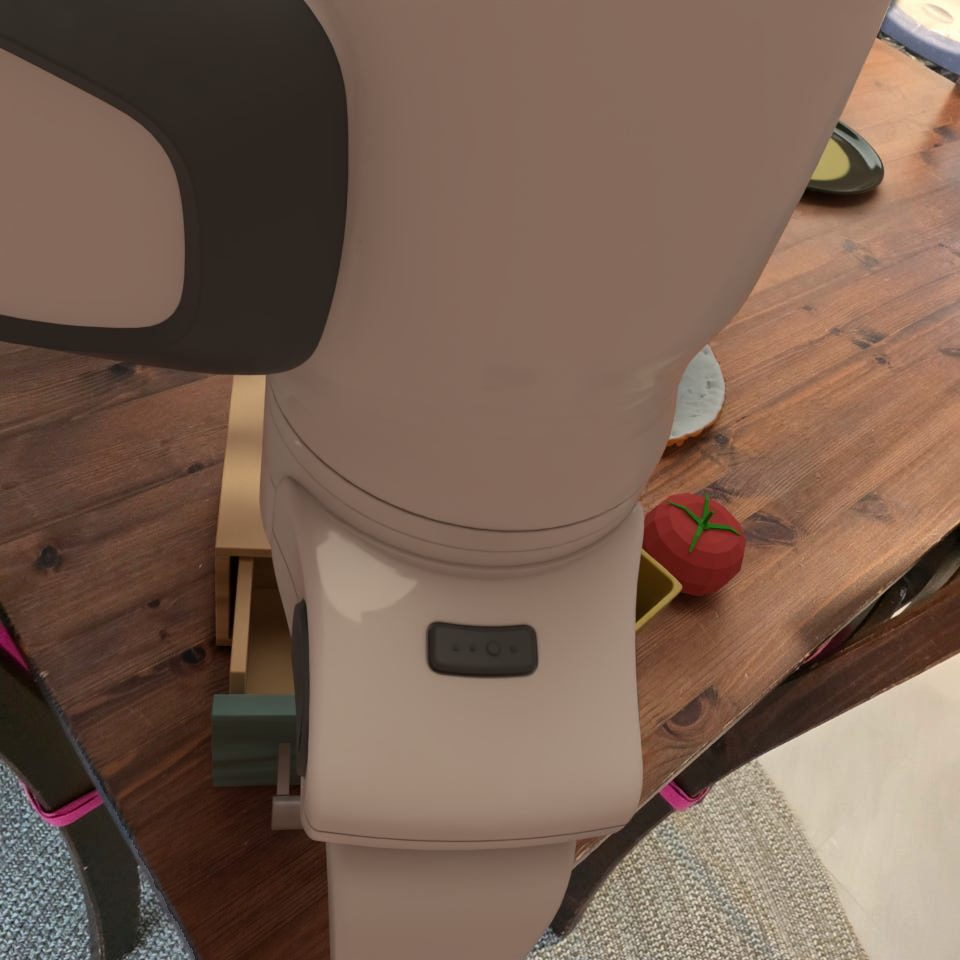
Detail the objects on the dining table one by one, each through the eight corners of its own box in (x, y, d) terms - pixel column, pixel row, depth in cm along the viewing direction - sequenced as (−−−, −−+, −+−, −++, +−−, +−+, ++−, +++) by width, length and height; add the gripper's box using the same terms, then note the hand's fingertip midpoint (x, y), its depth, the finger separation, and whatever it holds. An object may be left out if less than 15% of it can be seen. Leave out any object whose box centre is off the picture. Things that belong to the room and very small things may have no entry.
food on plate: (466, 260, 91) (480, 203, 86) (694, 303, 95) (719, 251, 90) (462, 436, 74) (478, 378, 69) (740, 480, 78) (775, 428, 73)
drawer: (434, 858, 50) (466, 798, 44) (205, 868, 47) (202, 805, 41) (415, 592, 61) (437, 513, 55) (230, 587, 59) (231, 503, 52)
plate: (646, 119, 122) (653, 101, 120) (757, 89, 138) (764, 73, 136) (809, 228, 111) (819, 211, 109) (909, 182, 127) (919, 166, 125)
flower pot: (638, 656, 63) (687, 585, 56) (561, 729, 58) (604, 660, 51) (549, 574, 66) (585, 497, 60) (468, 637, 61) (497, 560, 55)
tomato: (609, 574, 67) (644, 511, 62) (649, 514, 72) (684, 451, 67) (702, 631, 66) (747, 572, 60) (736, 566, 71) (780, 505, 65)
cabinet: (425, 649, 60) (455, 556, 52) (215, 646, 57) (214, 547, 49) (412, 484, 69) (436, 385, 61) (232, 474, 66) (233, 368, 58)
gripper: (324, 203, 27) (295, 490, 37) (302, 913, 14) (266, 1061, 24) (520, 230, 29) (441, 500, 39) (666, 898, 16) (490, 1044, 26)
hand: (374, 720), depth 31 cm, fingers open, 8 cm apart
